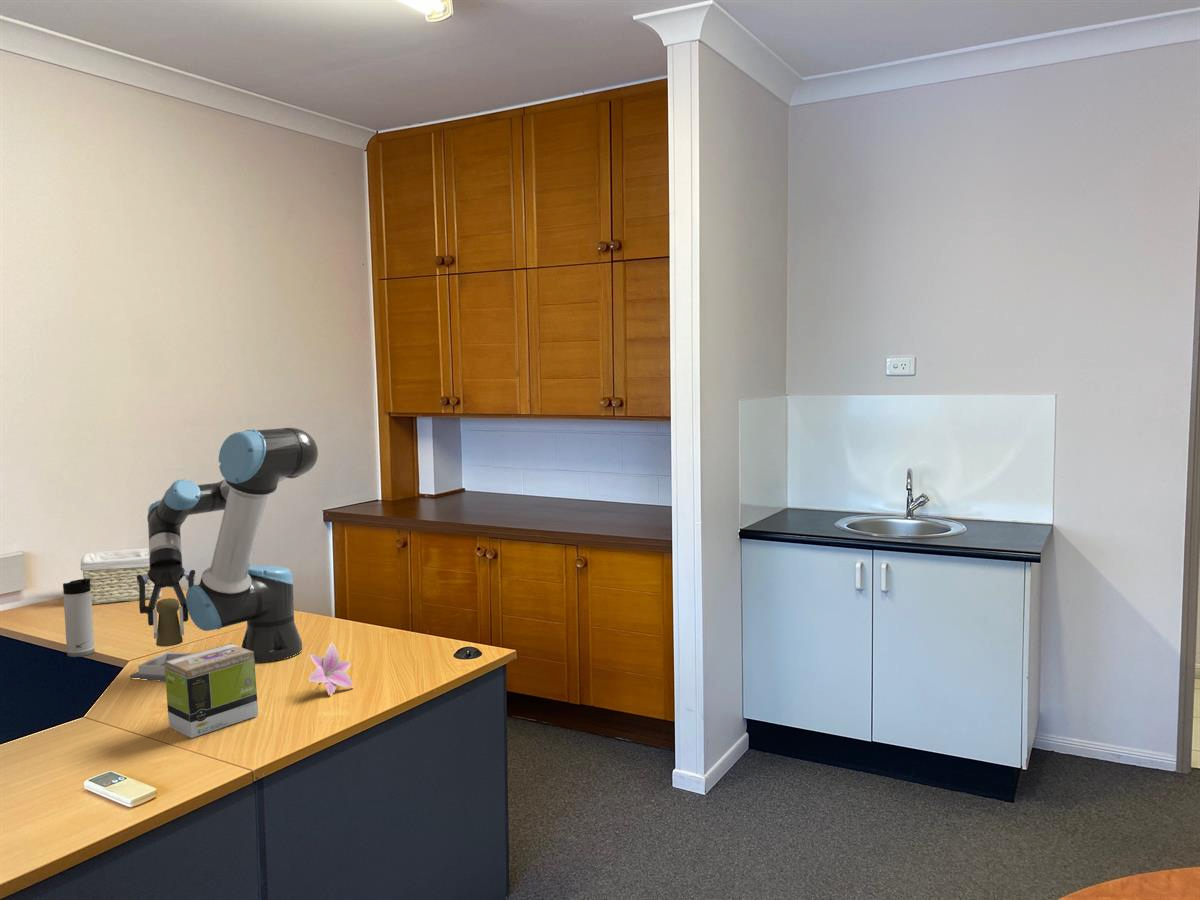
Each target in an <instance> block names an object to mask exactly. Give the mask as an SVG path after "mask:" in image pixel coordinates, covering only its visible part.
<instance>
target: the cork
mask: <svg viewBox="0 0 1200 900" xmlns="http://www.w3.org/2000/svg"><path fill="white" fill-rule="evenodd" d="M179 607H180V602H179V600H178V598H177V599H176V598H170V597H169V598H164V599H160V600H157V603H156V606H155V609H156V611H157V614H158V617H157V634H158V638H156V640H155V646H156V647H159V648H160V647H161V648H162V647H163V648H166V647H173V646H177V645H180V644H182V643H183V642H184V639H183V635H181V632H180V617H179V615H178V611H179Z"/></svg>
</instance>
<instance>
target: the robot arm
mask: <svg viewBox="0 0 1200 900" xmlns="http://www.w3.org/2000/svg"><path fill="white" fill-rule="evenodd" d="M218 454H219V455H218V463H219V466H218V468H219V471H220V473H221V476H222V477H223V478H224V479H222V480H221V481H217V482H214V483H205V484H197V483H195V481H192V480H187V479H186V478H183V479H182V478H181V479H178V480H175V481H173V483H172V484H171V485H170V486H169V487H168V489H167V490H166V491H165V492H164V495H163V497H162V498H161V499H159V500H156V501H155V502H153V503H151V504H150V505H149V507H148V510H147V525H148V526H147V527H148V548H149V555H150V556H149V563H150V570H149V572H148V574H146V575H143V576H142V575H138V576H137V583H138V585H139V600H138V601H139V602H138V603H139V605H138V607H139V613H140V614H147V624H148V625H149V626H150V627H151V626H153V638H154V640H155V639H156V640H157V638H158V634H157V629H158V612H157V610H156V604H157V602H158V601H159V598H158V596H159V593H160V591H161V588H163V589H164V588H173V591H174V593H175V595H176V597H177V600H178V602H179V610H178V611H179V624H180V632H181V635H182V636H184V635H185V627H184V626H185V625H184V623H185V622H188V621H189V618H190V619H191V620H192V622H193V624H194V625H195V626H196V627H197V628H198V629H199V630H201V631H205V632H208V631H215V630H220V629H223V628H226V627H230V626H233V625H236V624H237V625H238V624H241V623H245V622H246V630H245V633H244V637H243V639H242V642H241V643H242V644H241V646H240V647H242V648H244V649H247V650H250V651H253V652H254V661H255V663H256V662H257V663H266V662H268V661H270V662H274V661H273V660H278V661H280V660H279V659H283V660H285V659H284V658H287V657H290V656H293V655H295V654H297V653H299V652H300V651H301V650H302V651H303V641H302V638H301V636H300V633H299V631H298V628H297V626H296V623H295V609H294V608H295V607H294V580H293V573H292V571H291V569H290V568H288V567H285V566H280V565H279V566H278V565H269V564H268V565H262V564H261V565H251V562H252V559H253V553H254V550H255V545H256V542H257V538H258V535H259V531H260V527H261V522H262V520H263V517H264V516H263V515H264V512H265V508H266V503H267V500H268V496H270V495H271V494H273V493H275V492H276V490H277V488H278V484H279V483H280V482H282V481H284V480H286V479H296V478H298V477H300V476H302V475H304V474H306V473H308V472H309V471H310V470H312V469H313V467H314V466H315V465H316V463H317V460H318V456H319V451H318V446H317V443H316V441H315V440H314V439H313V437H312V436H311V434H309V433H308V432H307V431H305V430H302V429H299V428H296V427H282V428H271V429H270V428H269V429H257V430H255V429H246V430H243V431H237V432H234V433H232V434H230V435H228V436H227V437H226V438H225V440H224V441H223V442H222V444H221V446H220V449H219V453H218ZM218 511H219V512H220V511H224V512H223V516H222V519H221V523H220V526H219V527H220V528H219V532H218V534H217V535H218V536H217V540H216V543H215V548H214V552H213V556H212V557H213V558H212V560H211V565H210V567H207V568H206V569H204V571H203V572H202V574H201V576H200V581H199V583H198V584H195V579H196V570H195V569H191V570H190V571H189V570H185V568H184V567H183V555H182V538H181V527H182V525H183V523H184V522H185V521H186V519H187V518H188V516H192V515H199V514H204V513H205V514H206V513H210V512H211V513H212V512H218ZM250 565H251V566H250ZM183 577H185V580H187V581H188V583H187V584H188V585H187V587H188V589H187V591H186V594H185V595H184V592H183V589H182V586H181V584H180V581H181V580H182V578H183ZM148 579H150V580H151V581H152V582H153V583H154V589H153V592H152V595H151V599H149V602H148V605H146V599H145V584H146V583H147V580H148ZM302 651H301V652H302ZM301 652H300V653H301ZM300 653H299V654H300ZM297 655H298V654H297ZM295 656H296V655H295ZM293 657H294V656H293ZM290 658H291V657H290ZM287 659H288V658H287Z"/></svg>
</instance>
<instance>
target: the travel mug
mask: <svg viewBox="0 0 1200 900" xmlns="http://www.w3.org/2000/svg"><path fill="white" fill-rule="evenodd" d="M62 588H63V589H62V590H63V611H64V623H65V624H64V625H65V637H66V638H65V639H66V655H67V656H68V657H72V658H78V657H79V658H80V657H85V656H89V655H91V654H93V653H94V652H95V650H96V649H95V633H94V622H93V621H94V619H93V618H94V617H93V604H92V600H91V588H90V579H84V578H81V579H74V580H70V582H64V583H62Z"/></svg>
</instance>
